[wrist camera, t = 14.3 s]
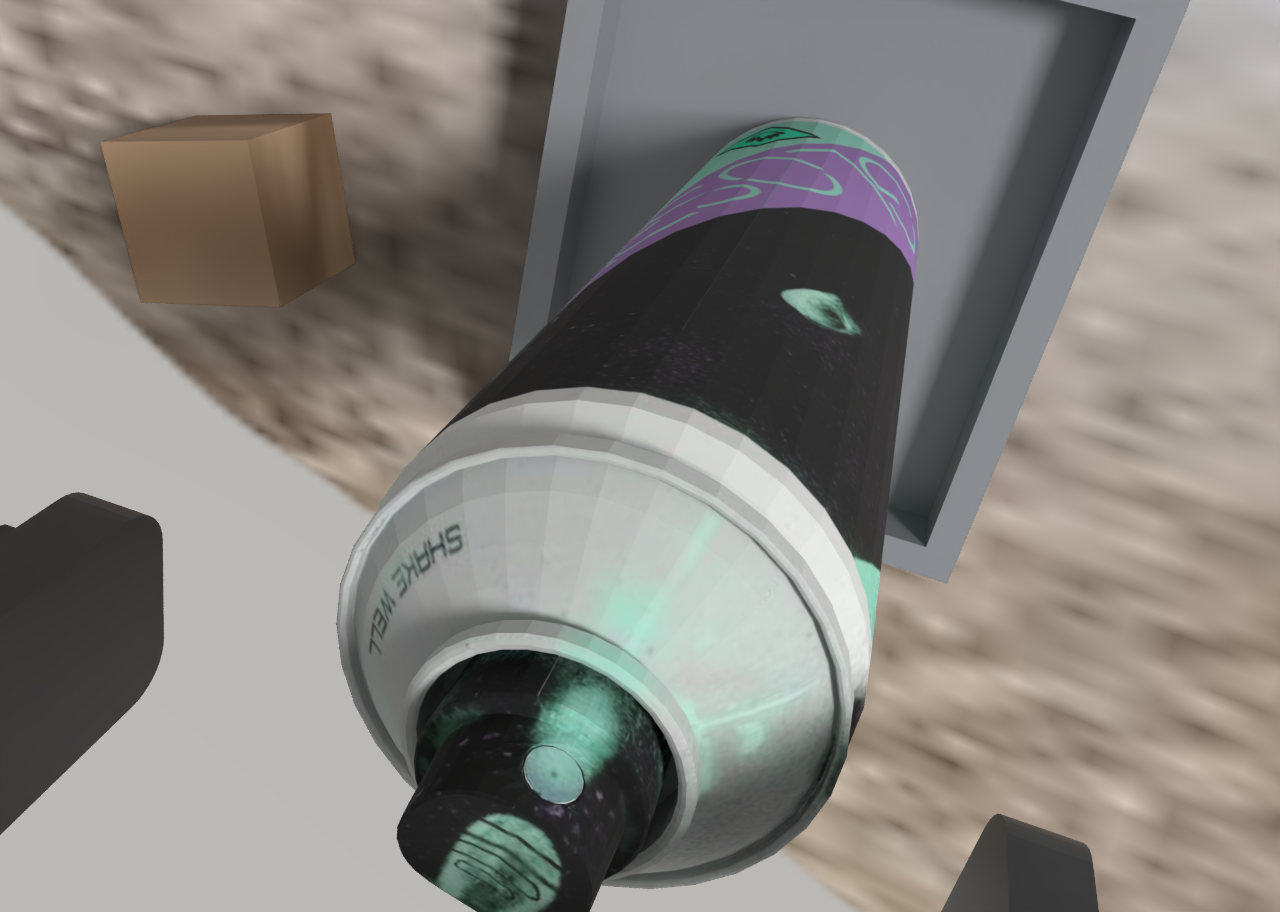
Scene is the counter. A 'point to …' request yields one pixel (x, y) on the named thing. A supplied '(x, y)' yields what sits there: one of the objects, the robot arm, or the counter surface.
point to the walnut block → (231, 208)
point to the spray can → (651, 545)
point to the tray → (918, 144)
